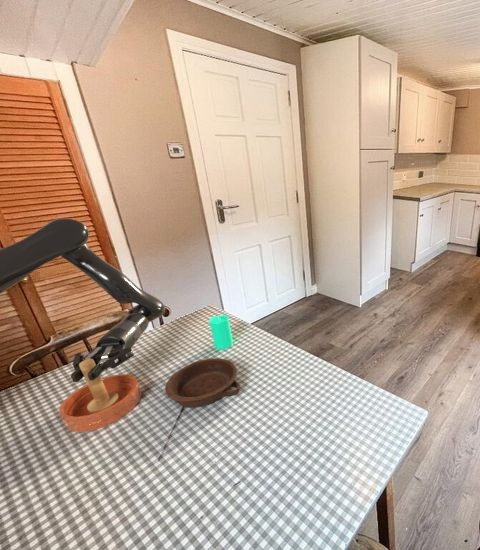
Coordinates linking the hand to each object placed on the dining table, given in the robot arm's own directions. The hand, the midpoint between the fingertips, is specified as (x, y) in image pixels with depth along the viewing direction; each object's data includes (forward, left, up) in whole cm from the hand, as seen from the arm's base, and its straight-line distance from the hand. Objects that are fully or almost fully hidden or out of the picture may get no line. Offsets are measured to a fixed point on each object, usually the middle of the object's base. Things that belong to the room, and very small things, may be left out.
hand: (82, 378), depth 73 cm
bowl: (0, +3, -13) cm, 13 cm away
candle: (+24, +28, -13) cm, 39 cm away
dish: (+24, +5, -13) cm, 28 cm away
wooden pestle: (0, +3, -12) cm, 12 cm away
